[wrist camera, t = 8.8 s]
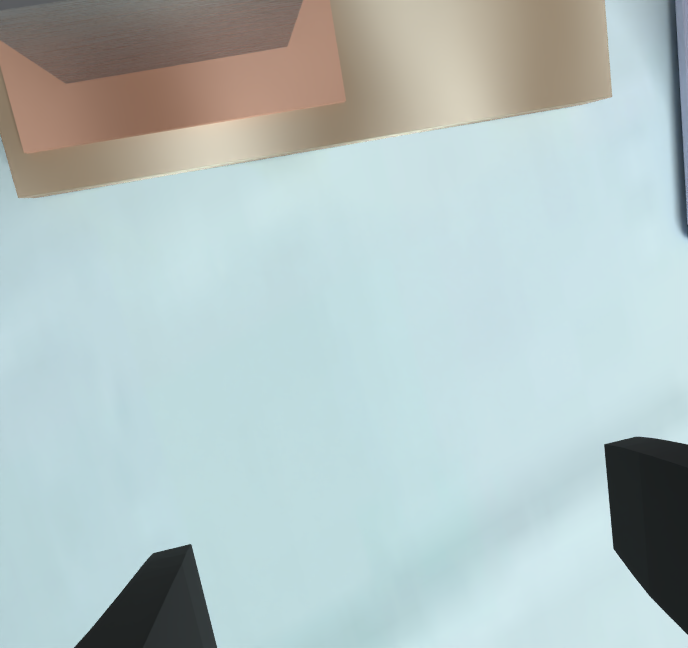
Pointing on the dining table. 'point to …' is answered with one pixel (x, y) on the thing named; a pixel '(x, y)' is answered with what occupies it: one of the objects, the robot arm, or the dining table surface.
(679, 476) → the robot arm
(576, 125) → the dining table surface
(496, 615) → the dining table surface
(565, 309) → the dining table surface
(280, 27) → the collar
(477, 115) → the stand
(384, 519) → the dining table surface
